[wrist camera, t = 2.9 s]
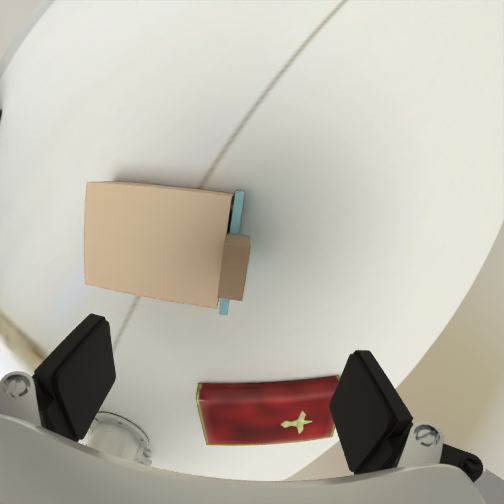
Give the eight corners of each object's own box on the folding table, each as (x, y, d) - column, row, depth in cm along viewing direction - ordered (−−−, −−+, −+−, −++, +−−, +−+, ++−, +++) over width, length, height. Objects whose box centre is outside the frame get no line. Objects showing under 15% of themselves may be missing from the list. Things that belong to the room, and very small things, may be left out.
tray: (114, 272, 32) (69, 307, 22) (119, 177, 29) (68, 178, 19) (238, 292, 33) (236, 340, 23) (253, 192, 30) (258, 197, 20)
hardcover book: (199, 380, 38) (195, 399, 33) (337, 372, 38) (345, 390, 34) (208, 428, 40) (206, 446, 36) (327, 421, 41) (332, 438, 37)
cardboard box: (109, 266, 32) (85, 284, 26) (113, 181, 30) (86, 182, 24) (221, 285, 33) (216, 308, 27) (234, 193, 31) (231, 196, 24)
